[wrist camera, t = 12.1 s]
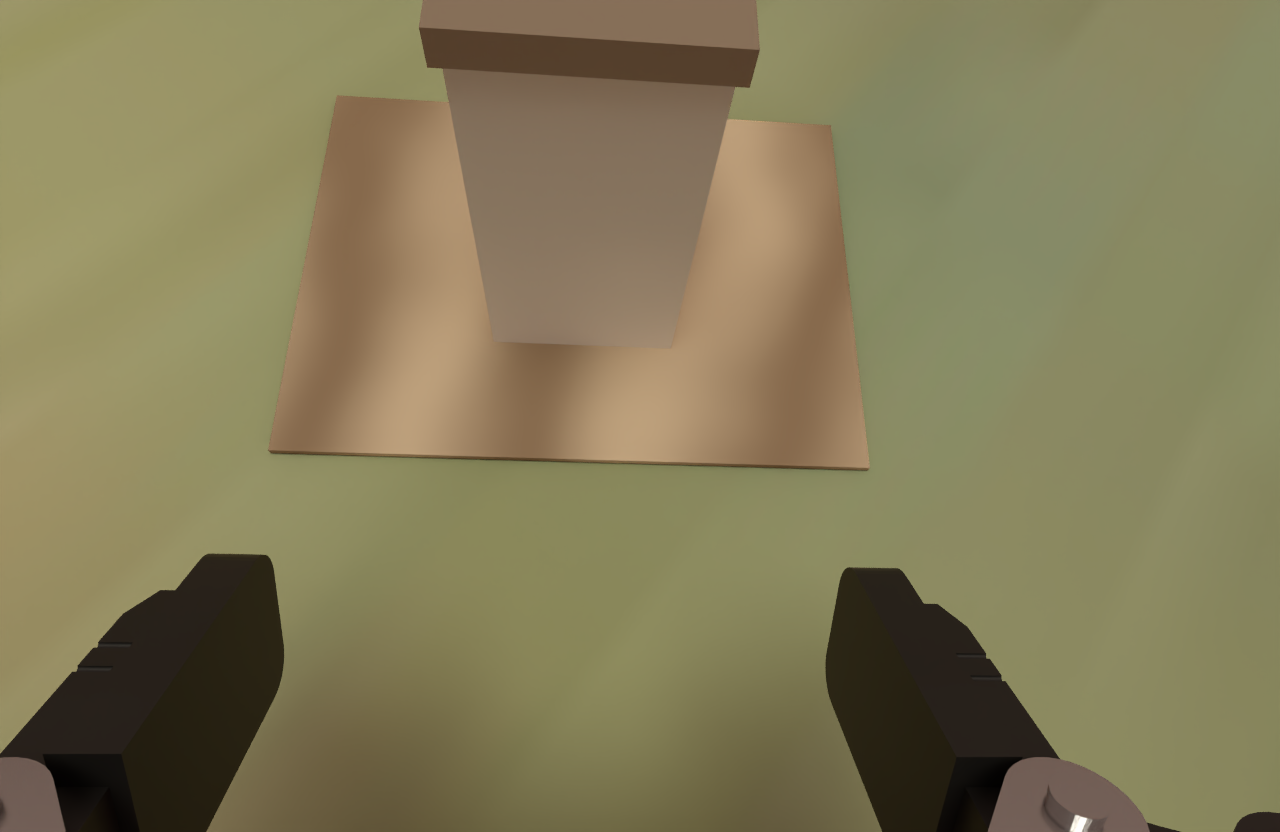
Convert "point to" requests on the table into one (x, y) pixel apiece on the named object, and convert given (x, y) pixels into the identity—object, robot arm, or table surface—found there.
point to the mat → (556, 373)
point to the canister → (588, 153)
